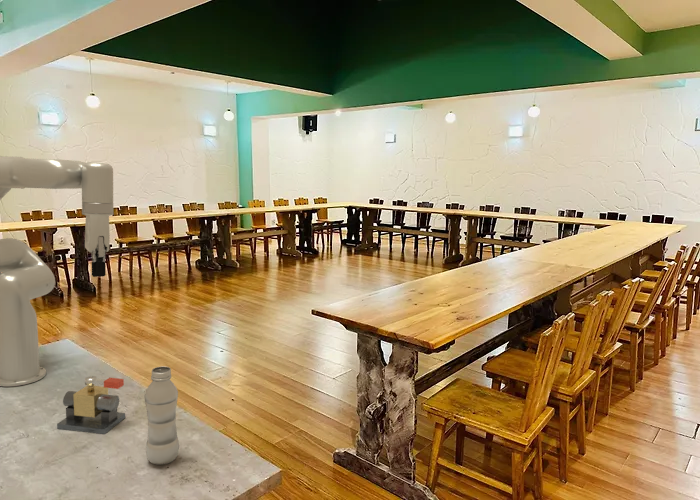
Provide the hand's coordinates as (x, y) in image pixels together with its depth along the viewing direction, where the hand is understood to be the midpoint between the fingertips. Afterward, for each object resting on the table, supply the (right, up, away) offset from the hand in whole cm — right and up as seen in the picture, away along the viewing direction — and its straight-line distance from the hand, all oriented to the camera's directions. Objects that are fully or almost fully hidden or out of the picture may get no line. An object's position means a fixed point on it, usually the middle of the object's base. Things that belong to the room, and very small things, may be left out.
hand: (98, 275), depth 133 cm
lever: (+11, -25, -19) cm, 33 cm away
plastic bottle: (+29, -37, -31) cm, 57 cm away
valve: (+7, -34, -17) cm, 39 cm away
